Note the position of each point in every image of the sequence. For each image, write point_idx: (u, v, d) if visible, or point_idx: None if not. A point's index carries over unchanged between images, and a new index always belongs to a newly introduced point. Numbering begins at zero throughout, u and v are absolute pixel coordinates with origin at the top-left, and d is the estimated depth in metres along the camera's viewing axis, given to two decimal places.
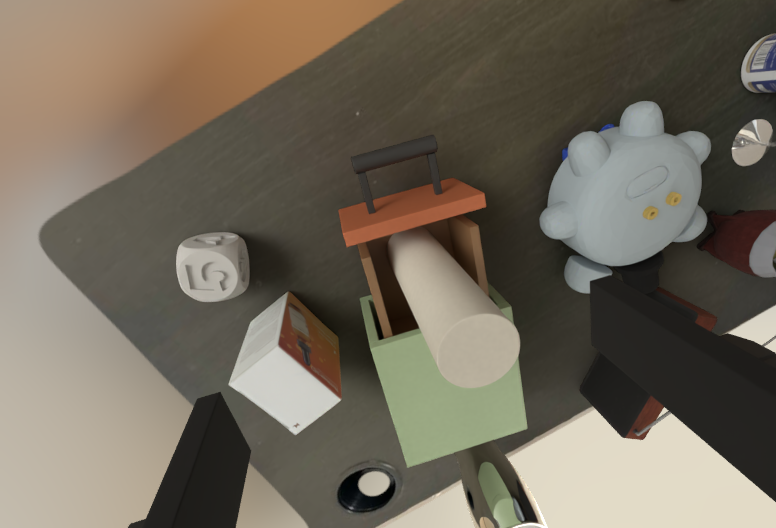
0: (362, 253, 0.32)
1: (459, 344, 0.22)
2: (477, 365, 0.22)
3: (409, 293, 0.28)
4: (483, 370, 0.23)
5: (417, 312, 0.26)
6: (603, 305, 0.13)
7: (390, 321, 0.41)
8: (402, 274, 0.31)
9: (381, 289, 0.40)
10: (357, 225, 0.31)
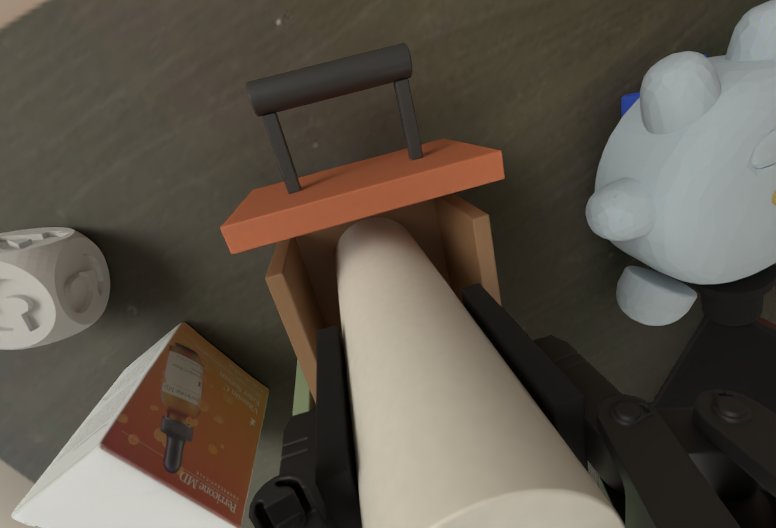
0: (272, 265, 0.17)
1: None
2: None
3: (346, 354, 0.13)
4: None
5: (351, 411, 0.11)
6: (469, 310, 0.15)
7: None
8: (342, 308, 0.16)
9: (329, 320, 0.25)
10: (254, 213, 0.16)
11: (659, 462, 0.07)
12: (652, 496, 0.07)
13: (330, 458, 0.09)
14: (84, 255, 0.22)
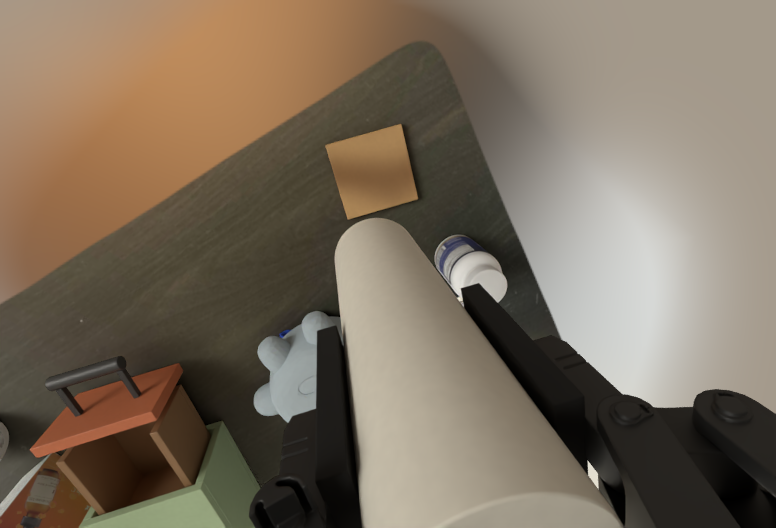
0: (65, 452, 0.39)
1: None
2: None
3: (346, 355, 0.13)
4: None
5: (351, 413, 0.11)
6: (469, 310, 0.15)
7: (144, 474, 0.48)
8: (342, 309, 0.16)
9: (129, 452, 0.46)
10: (48, 438, 0.37)
11: (659, 462, 0.07)
12: (652, 496, 0.07)
13: (330, 458, 0.09)
14: None
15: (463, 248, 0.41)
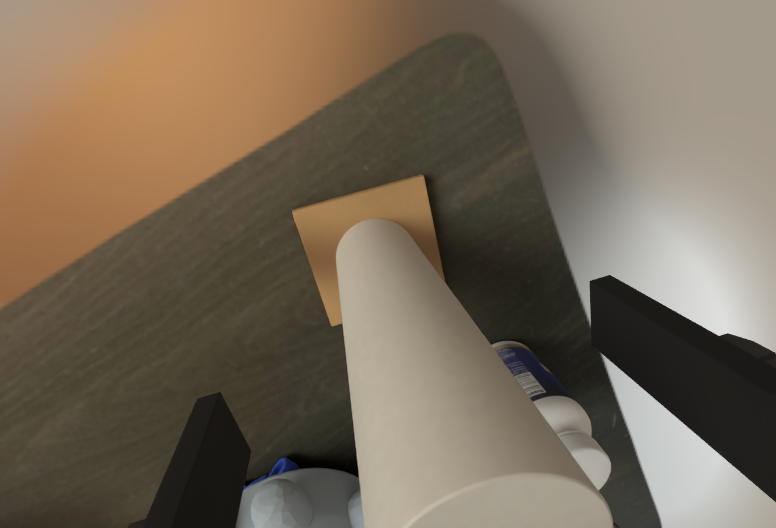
0: None
1: None
2: None
3: (347, 351, 0.14)
4: None
5: (352, 405, 0.12)
6: (603, 305, 0.13)
7: None
8: (344, 307, 0.16)
9: None
10: None
11: None
12: None
13: None
14: None
15: (525, 384, 0.24)
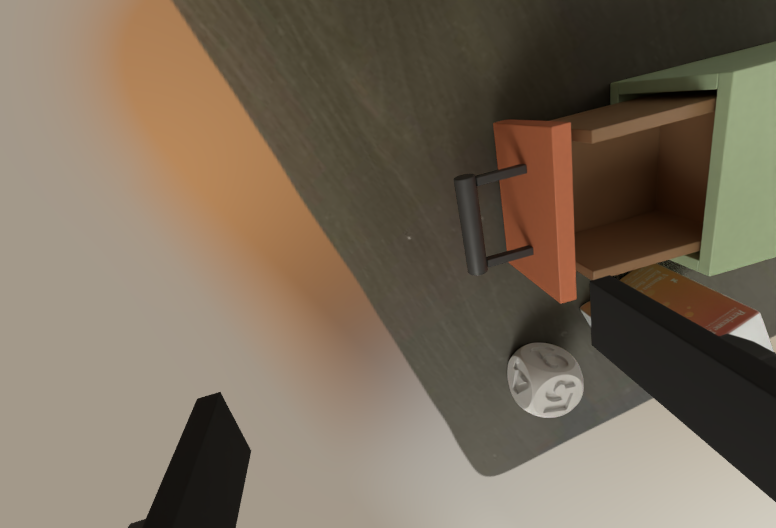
0: (581, 272, 0.27)
1: None
2: None
3: None
4: None
5: None
6: (603, 305, 0.13)
7: (656, 206, 0.32)
8: None
9: (612, 218, 0.32)
10: (552, 282, 0.26)
11: None
12: None
13: None
14: (530, 353, 0.37)
15: None
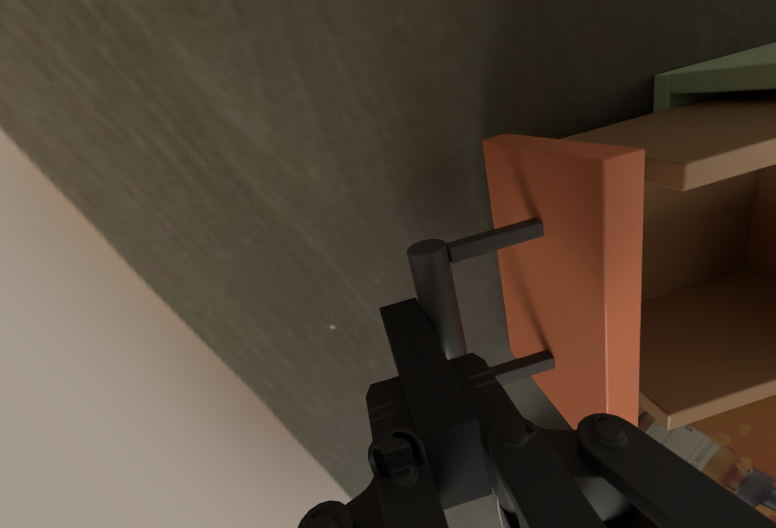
0: (641, 403, 0.15)
1: None
2: None
3: None
4: None
5: None
6: None
7: (745, 265, 0.20)
8: None
9: (676, 285, 0.20)
10: None
11: (544, 484, 0.08)
12: (540, 524, 0.07)
13: (427, 416, 0.10)
14: None
15: None
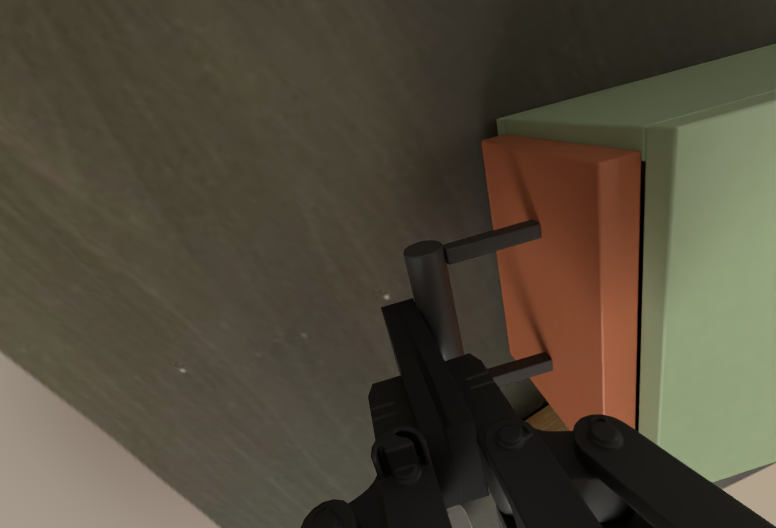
0: None
1: None
2: None
3: None
4: None
5: None
6: None
7: None
8: None
9: None
10: None
11: (540, 485, 0.08)
12: (537, 525, 0.07)
13: (431, 415, 0.10)
14: None
15: None
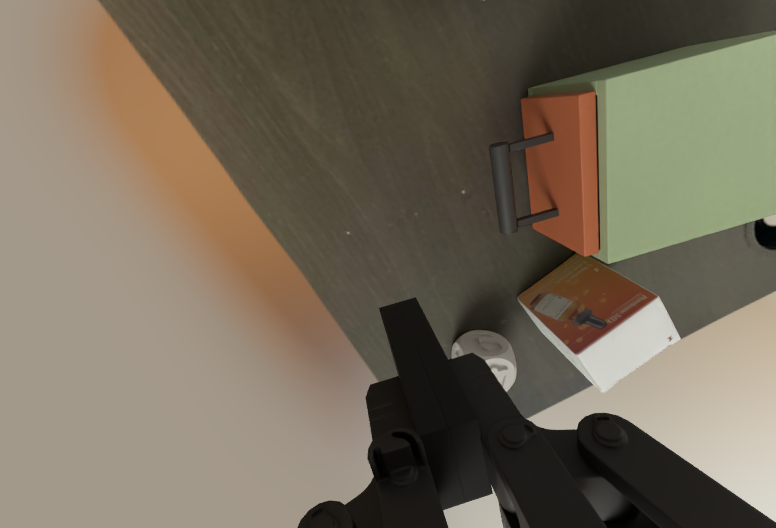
0: None
1: None
2: None
3: None
4: None
5: None
6: None
7: None
8: None
9: None
10: (577, 238, 0.30)
11: (544, 484, 0.08)
12: (540, 523, 0.07)
13: (427, 416, 0.10)
14: (469, 340, 0.39)
15: None
